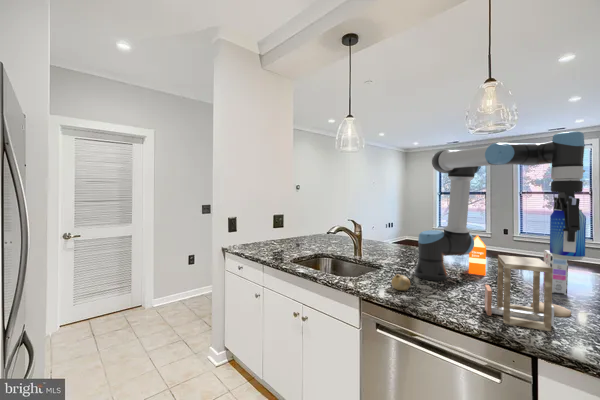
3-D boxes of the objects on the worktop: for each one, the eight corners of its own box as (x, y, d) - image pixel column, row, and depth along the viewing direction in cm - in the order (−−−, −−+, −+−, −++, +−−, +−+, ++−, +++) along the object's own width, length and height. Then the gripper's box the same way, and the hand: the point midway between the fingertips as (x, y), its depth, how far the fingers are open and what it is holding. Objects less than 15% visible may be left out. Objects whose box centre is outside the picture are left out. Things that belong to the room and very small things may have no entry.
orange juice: (485, 271, 152) (486, 235, 151) (485, 275, 144) (486, 237, 143) (468, 269, 156) (469, 233, 155) (468, 273, 148) (468, 236, 148)
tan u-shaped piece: (487, 315, 97) (487, 290, 97) (484, 307, 104) (485, 284, 103) (554, 326, 89) (555, 299, 89) (547, 317, 95) (547, 292, 95)
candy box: (568, 295, 116) (569, 256, 116) (549, 292, 119) (550, 255, 119) (559, 286, 128) (560, 250, 127) (542, 283, 131) (543, 249, 131)
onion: (396, 285, 130) (396, 270, 130) (413, 289, 124) (413, 273, 124) (388, 289, 124) (388, 273, 124) (405, 294, 119) (405, 277, 118)
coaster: (535, 313, 100) (535, 310, 100) (527, 302, 110) (527, 300, 110) (576, 319, 95) (576, 317, 95) (564, 307, 104) (564, 305, 104)
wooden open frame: (504, 323, 92) (505, 263, 92) (497, 307, 105) (497, 254, 104) (551, 331, 87) (552, 268, 86) (537, 313, 99) (539, 258, 98)
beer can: (542, 255, 95) (543, 208, 95) (565, 254, 96) (566, 208, 95) (568, 261, 87) (569, 210, 86) (592, 260, 88) (594, 210, 87)
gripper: (597, 179, 80) (594, 257, 81) (569, 180, 98) (567, 244, 99) (563, 179, 83) (560, 254, 84) (542, 181, 102) (540, 242, 103)
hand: (564, 248), depth 92 cm, fingers closed on beer can, 8 cm apart
